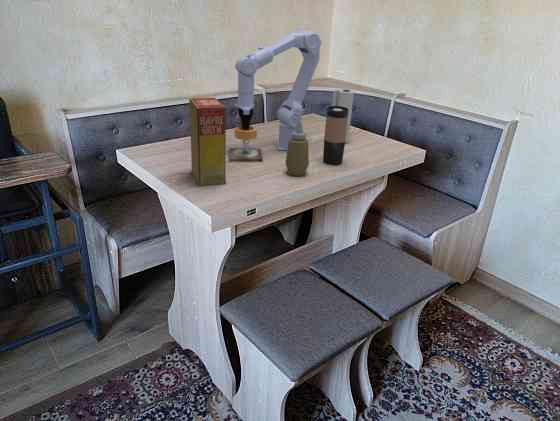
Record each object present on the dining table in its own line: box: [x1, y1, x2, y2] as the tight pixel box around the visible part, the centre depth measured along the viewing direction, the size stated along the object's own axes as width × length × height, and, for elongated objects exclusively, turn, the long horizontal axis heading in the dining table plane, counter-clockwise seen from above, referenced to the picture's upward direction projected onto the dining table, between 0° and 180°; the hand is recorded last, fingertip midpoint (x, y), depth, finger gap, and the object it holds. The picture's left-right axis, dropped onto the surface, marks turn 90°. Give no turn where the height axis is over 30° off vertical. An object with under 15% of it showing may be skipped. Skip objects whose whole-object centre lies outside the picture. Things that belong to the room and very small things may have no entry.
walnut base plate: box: [228, 147, 264, 163], centre depth 171 cm, size 12×12×1 cm
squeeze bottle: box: [285, 121, 310, 177], centre depth 154 cm, size 8×8×18 cm
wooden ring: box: [234, 124, 258, 141], centre depth 168 cm, size 8×8×3 cm
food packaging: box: [188, 97, 227, 187], centre depth 146 cm, size 13×9×25 cm
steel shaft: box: [241, 140, 250, 154], centre depth 170 cm, size 2×2×5 cm
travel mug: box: [322, 105, 348, 166], centre depth 165 cm, size 8×8×20 cm
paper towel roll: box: [331, 89, 355, 145], centre depth 187 cm, size 7×6×21 cm
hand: (245, 128), depth 171 cm, fingers closed on wooden ring
